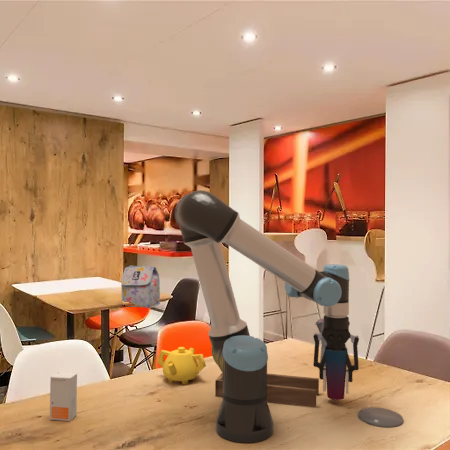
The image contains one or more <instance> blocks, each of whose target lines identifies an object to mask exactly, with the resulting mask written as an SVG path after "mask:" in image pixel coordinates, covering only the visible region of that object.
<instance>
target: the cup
mask: <svg viewBox="0 0 450 450" xmlns="http://www.w3.org/2000/svg"><path fill="white" fill-rule="evenodd" d="M346 352H348V348H347V347H346V350H344V351H342V349H341V347H338V346H331V347H330V350H328V349H326V346H325V355H326V362H325V364H326V367H325V368H326V395H327V399H330V400H333V401H342V400H344V399H345V394H346V369H347V364H346Z"/></svg>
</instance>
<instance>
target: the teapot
mask: <svg viewBox="0 0 450 450" xmlns="http://www.w3.org/2000/svg"><path fill="white" fill-rule="evenodd" d="M195 351H196V349H195V348H193V347H189V349H186V347H184V346H179V347H177V349H174V350H171V351H169V350H165V349H161V350H160V352H159V355H158V358H157V364H159V366H160V367H161V368H162V373H163V375H164V376H165V377H166V378H167V382H168V383H174V382H175V381H176V382H181V384H182V385H188V384H189V381H191V380H194V379H196V377H197V376H198V375H199V374H200V372H201V371H202V370H204V369H205V367H207V365H206V361H205V359H204V354H203V353H199V354H197V353H196V354H195ZM165 357H166V358H165Z"/></svg>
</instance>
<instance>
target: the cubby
mask: <svg viewBox="0 0 450 450" xmlns="http://www.w3.org/2000/svg"><path fill="white" fill-rule="evenodd" d="M214 382H215V384H214V385H215V391H214V392H215V393H214V394H215V397H217V398H223V373H222V372H221V374H220V375H219V376H218V377H216V379H215V381H214ZM319 387H320V378H317V377H307V376H298V375H285V374H275V373H267V403H270V404H271V403H272V404H281V405H290V406H298V407H306V408H307V407H308V408H317V396H319V394H320V392H319V391H320V388H319Z"/></svg>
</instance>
